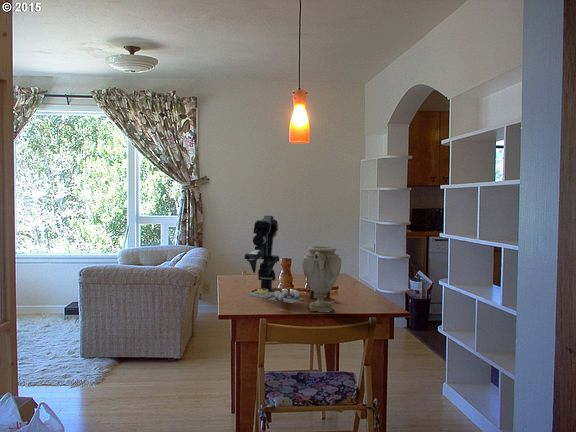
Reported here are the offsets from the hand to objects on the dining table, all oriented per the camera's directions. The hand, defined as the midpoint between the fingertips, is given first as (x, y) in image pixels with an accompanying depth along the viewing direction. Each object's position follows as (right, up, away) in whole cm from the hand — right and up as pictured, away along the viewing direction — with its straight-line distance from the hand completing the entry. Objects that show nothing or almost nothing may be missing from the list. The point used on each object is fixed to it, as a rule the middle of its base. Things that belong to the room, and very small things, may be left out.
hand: (261, 273), depth 295 cm
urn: (+29, -15, -28) cm, 43 cm away
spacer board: (+13, -13, -8) cm, 20 cm away
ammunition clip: (+30, -13, -4) cm, 33 cm away
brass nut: (+1, -12, 0) cm, 12 cm away
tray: (+1, -12, 0) cm, 12 cm away
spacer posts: (+13, -13, -8) cm, 20 cm away
